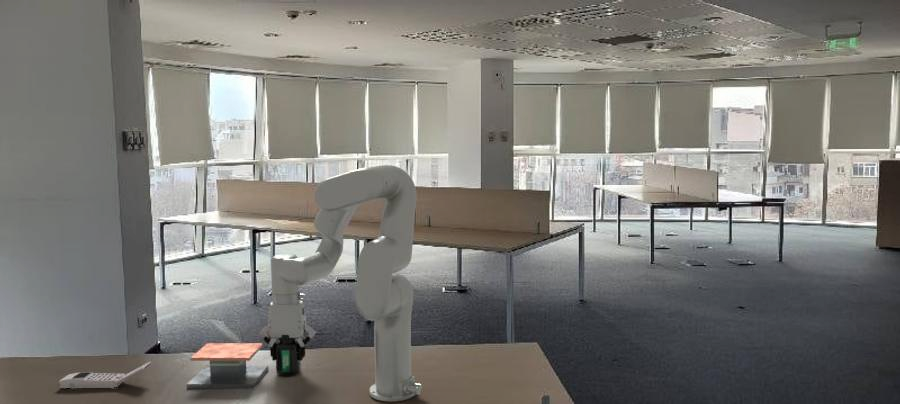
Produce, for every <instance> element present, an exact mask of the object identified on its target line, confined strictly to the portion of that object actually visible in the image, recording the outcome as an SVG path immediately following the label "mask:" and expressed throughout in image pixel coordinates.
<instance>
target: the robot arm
mask: <svg viewBox="0 0 900 404" xmlns="http://www.w3.org/2000/svg"><path fill="white" fill-rule="evenodd" d="M313 195H314V202H315V204H316V206H317V207H318V208H319V211H318V212H317V214H316V216H315V218H314V220H313V225H314V228H315V230H316V231H317V232H318V233H319V234H321V236H322V238H321V240H320V242H319V244H318V247H317V249H316V250H315V252H314V253H311V254H307V255H303V256H301V257H298V256H297V255H296V254H293V253H280V254H278V253H277V254H276V255H275V254H274V255H273V256H272V257H271V259H270V271H271V272H270V274H271V299H272V301H271V302H270V304H269V309H268V316H267V317H268V319H267V325H265V326H264V327H263V328H262V329H261V330H260V331H259V332H258V335H259V336H260V337H261V338H262V339H263V341H264V342H265V343H266V344H267V346H268V347H269V349H270V358H271V359H272V362H274V361H275V362H276V352H275V345H276V343H277V340H278V338H281V337H282V335H289V338H296V340H297V341H298V343H299V345H300V346H299V347H298V354H299V361H302V360H303V359H304V358H305V357H306V345H307V344H308V343H309V342H310V340H311V339H312V338H313V337H314V336H315V335H316V333H317V332H316V330H315V329H313V328H312V327H311V326H310V325H308V324H307V318H306V311H305V305H304V302H303V301H302V299H303V300H304V299H305V297H306V295H305V293H301V291H300V286H307V285H309V284H312V283H314V282H316V281H319V280H322V279H325V278H327V277H328V276H329V275H331V273H332V272H333V270H335V267H336V266H337V263H338V262H339V260H340V258H341V256H342V254H343V250H344V237H343V236H344V233H345V231H346V229H347V227H348V225H349V224H350V221H351V219H352V218H353V216H354V214H355V212H356V210H357V208H358V206H359V205H362V204H366V203H371V202H375V201H380V200H383V199H384V200H385V205H384V208H383V211H382V212H381V213H382V214H381V219H380V227H379V228H380V230H379V236H378V237H377V238H376V239H373V240H370V241H368V242H367V243H366V244H365V245H364V246H363V247H362V249H361V251H360V253H359V256H358V258H357V259H358V260H357V271H356V273H357V274H356V288H355V304H356V309H357V311H358V313H359V314H360V315H361V317H363V318H364V319H366V320H368V321H371V322H374V327H373V329H374V330H373V331H374V332H373V333H374V336H373V338H374V339H373V340H374V341H373V343H374V344H373V345H374V381H375V383H374V384H372V385H371V386H370V387H369V396H371V398H373V399H374V400H378V401H380V402H381V401H382V402H388V403H389V402H390V403H392V402H393V403H394V402H401V401H405V400H409V399H411V398H413V397H415V396H416V395H417V396H419V395H420V394H421V392H422V389H423V384H422V383H417V382H416V381H415V380H416V379H415V378H416V377H415V376H414V375H412V340H411V339H412V337H411V336H412V332H411V331H412V328H411V326H412V310H413V304H414V289H413V286H412V283H411V281H410V280H409V279H408V278H407V277H406V276H405V275H402V274H399V273H398V272H400V271H402V270H404V269H405V268H407V267H408V266H409V265H410V263H411V261H412V256H413V255H412V254H413V244H414V243H413V242H414V233H415V232H414V231H415V216H416V210H417V209H416V207H417V201H418V199H417V196H418V195H417V188H416V184H415V182H414V180H413V178H412V177H411V175H409V173H408V172H406V171H405V170H404V169H402V168H401V167H398V166H396V165H392V164H391V165H390V164H384V165H383V164H382V165H375V166H368V167H361V168H358V169H353V170H351V171H348V172H345V173H341V174H338V175H335V176H332V177H331V176H330V177H328V178H324V179H323V180H321V181H319V183H318V184H317V186H316V188H315V190H314V194H313ZM267 333H268V334H267ZM305 333H308V335H307V336H306V337H305V336H304V334H305Z"/></svg>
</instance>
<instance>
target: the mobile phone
mask: <svg viewBox="0 0 900 404" xmlns="http://www.w3.org/2000/svg"><path fill="white" fill-rule="evenodd" d="M151 364H152V362H151V361H147V362H146V363H144V364H142V365H140V366H138V367H137V368H135V369H132V370H131V371H130V372H128V373H123V372H122V373H112V372H111V373H109V372H108V373H106V372H105V373H102V372H101V373H98V372H95V373H93V372H92V371H82V372H74V373H70V374H67V375H66V376H64V377H63V378H61V379H60V380H58V384H59V385H58V387H59V388H60V389H66V388H72V389H73V388H111V389H115V388H114V387H117V386H119V385H120V384H121V383H122V382H123V381H124V382H125V380H126V379H129V378H130V377H132V376H134V375H136V374H138V373H140V372H141V371H143V370H145V369H147V368H148V366H150V365H151ZM124 382H123V383H124ZM123 383H122V384H123ZM122 384H121V385H122ZM121 385H120V386H121ZM120 386H119V387H120ZM117 388H118V387H117Z"/></svg>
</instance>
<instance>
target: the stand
mask: <svg viewBox="0 0 900 404" xmlns="http://www.w3.org/2000/svg"><path fill="white" fill-rule="evenodd" d="M263 346H264V343H262V342H260V343H259V342H255V343H253V342H252V343H251V342H250V343H249V342H248V343H247V342H243V343H242V342H235V343H233V342H230V343H229V342H225V343H224V342H217V343H215V342H214V343H213V342H209V343H206V344H205V345H203V346H202V347H201V348H200V349H199V350H198V351H197V352H196V353H194V354H193V355H191V356H190V359H189V360H190V361H191V362H192V361H198V362H200V361H203V362H204V361H205V362H207V361H208V362H209V365H205V366H204V367H203V368H202V369H201V370H200V371H199V372H198V373H197V374H196V375H195V376H193V378H191V379H190V380H189V381H188V382H187V383H186V389H222V390H223V389H229V390H230V389H237V390H239V389H244V390H245V389H249V390H251V389H254V388H255V387H256V386H257V384H258V383H259V382H260V380H261V379H262V378H263V377H264V376H265V374H266V373H267V372H268V371H269V365H247V362H250V361H251V360H252V358H253V357H255V355H256V354H257V353H258V352H260V350H261V349H262V347H263Z"/></svg>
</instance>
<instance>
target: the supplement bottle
mask: <svg viewBox="0 0 900 404" xmlns="http://www.w3.org/2000/svg"><path fill="white" fill-rule="evenodd" d="M277 340H278V341H276V345H275V352H276V360H275V373H276V375H277V376H278V377H281V378H291V377H295V376H298V375H299V374H300V373H301V370H302V369H301V367H302V366H301V364H302V363H301V361H302V360H301V361H299V354H298V347H299V346H300V345H299V343H298V341H297V339H296V338H289V335H282V337H281V338H277Z"/></svg>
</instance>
